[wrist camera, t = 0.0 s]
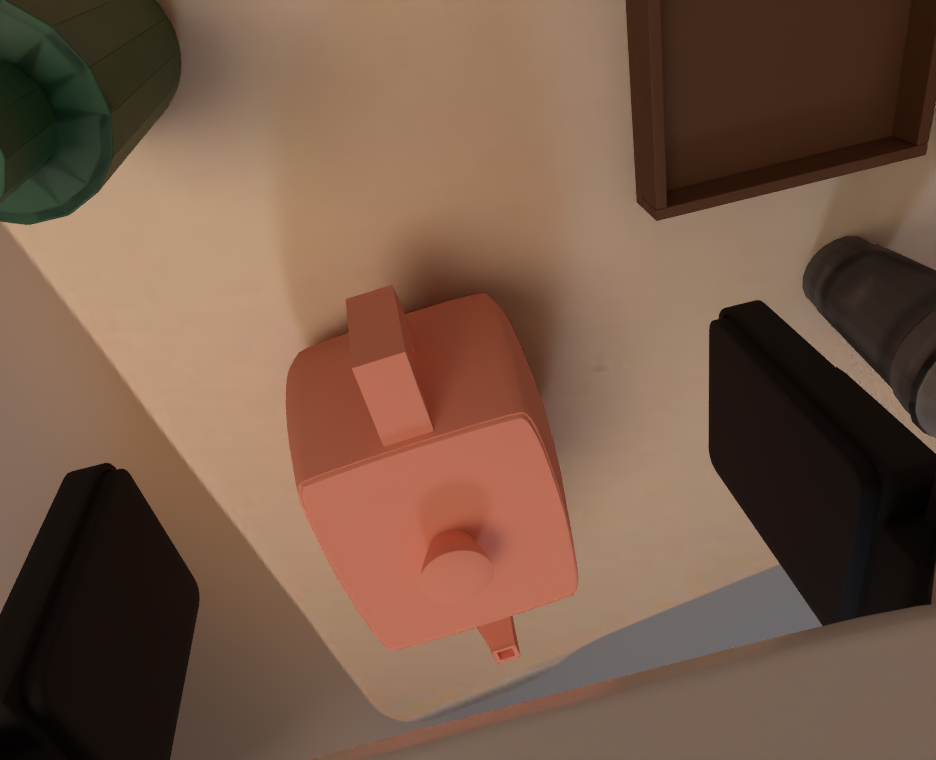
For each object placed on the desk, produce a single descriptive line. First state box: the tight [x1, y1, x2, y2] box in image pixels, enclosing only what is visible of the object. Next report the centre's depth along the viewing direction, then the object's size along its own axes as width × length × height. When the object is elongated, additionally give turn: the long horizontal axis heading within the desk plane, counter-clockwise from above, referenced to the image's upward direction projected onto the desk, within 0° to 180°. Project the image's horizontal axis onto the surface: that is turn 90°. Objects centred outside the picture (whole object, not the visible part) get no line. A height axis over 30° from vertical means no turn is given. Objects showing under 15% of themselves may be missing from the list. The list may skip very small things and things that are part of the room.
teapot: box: [286, 285, 578, 664], centre depth 37 cm, size 22×13×14 cm, turn 15°
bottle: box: [0, 0, 181, 225], centre depth 24 cm, size 6×6×16 cm
